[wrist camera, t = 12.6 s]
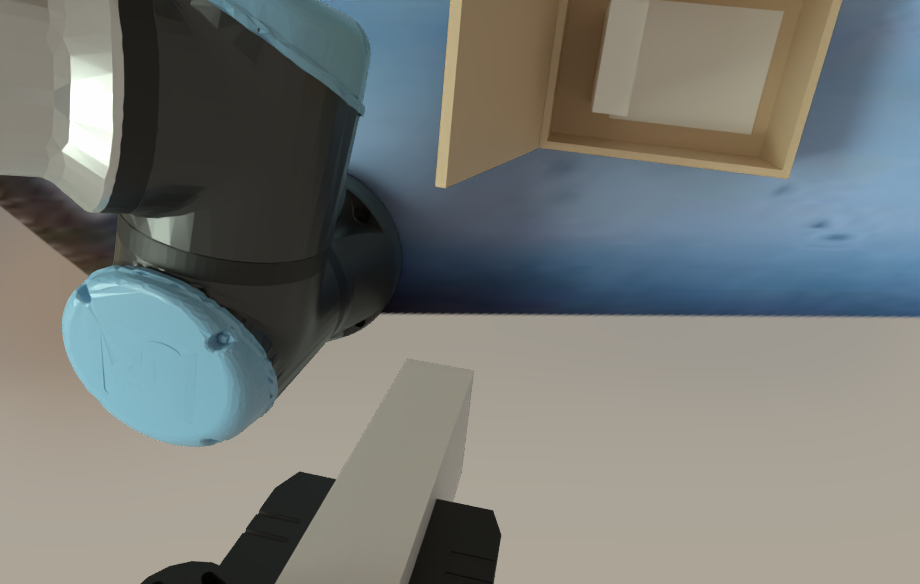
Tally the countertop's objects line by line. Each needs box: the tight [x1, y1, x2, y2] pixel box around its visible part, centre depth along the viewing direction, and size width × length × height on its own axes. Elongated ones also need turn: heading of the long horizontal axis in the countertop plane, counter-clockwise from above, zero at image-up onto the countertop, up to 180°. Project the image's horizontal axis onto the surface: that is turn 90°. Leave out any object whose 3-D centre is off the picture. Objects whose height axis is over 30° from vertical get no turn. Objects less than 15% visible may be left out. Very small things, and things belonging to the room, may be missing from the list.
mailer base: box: [539, 0, 842, 179], centre depth 38 cm, size 16×12×10 cm
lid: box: [435, 0, 559, 188], centre depth 31 cm, size 16×12×1 cm
